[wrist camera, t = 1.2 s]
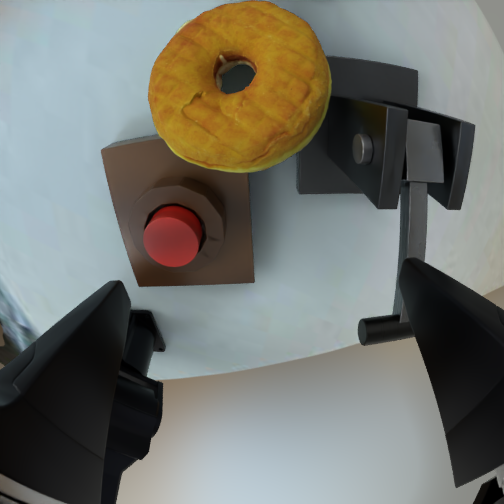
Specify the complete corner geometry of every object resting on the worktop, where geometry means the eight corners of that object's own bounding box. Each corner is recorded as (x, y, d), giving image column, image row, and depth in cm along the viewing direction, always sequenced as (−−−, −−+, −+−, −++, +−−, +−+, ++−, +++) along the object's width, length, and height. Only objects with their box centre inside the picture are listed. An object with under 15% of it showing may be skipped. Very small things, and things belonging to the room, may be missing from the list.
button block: (254, 267, 25) (255, 298, 22) (145, 271, 25) (132, 301, 22) (245, 124, 18) (245, 134, 15) (113, 142, 18) (87, 156, 15)
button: (205, 251, 20) (202, 266, 18) (156, 253, 20) (150, 268, 18) (198, 203, 18) (193, 215, 16) (145, 207, 18) (136, 220, 16)
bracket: (401, 188, 21) (470, 255, 13) (296, 188, 21) (328, 266, 13) (410, 70, 15) (503, 80, 7) (293, 55, 15) (336, 31, 7)
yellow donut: (171, -8, 11) (189, 19, 15) (113, 150, 13) (144, 156, 17) (349, 11, 10) (339, 41, 14) (308, 192, 13) (303, 192, 16)
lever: (425, 321, 15) (445, 339, 12) (353, 333, 15) (367, 356, 13) (434, 134, 12) (460, 128, 10) (355, 124, 12) (375, 114, 10)
